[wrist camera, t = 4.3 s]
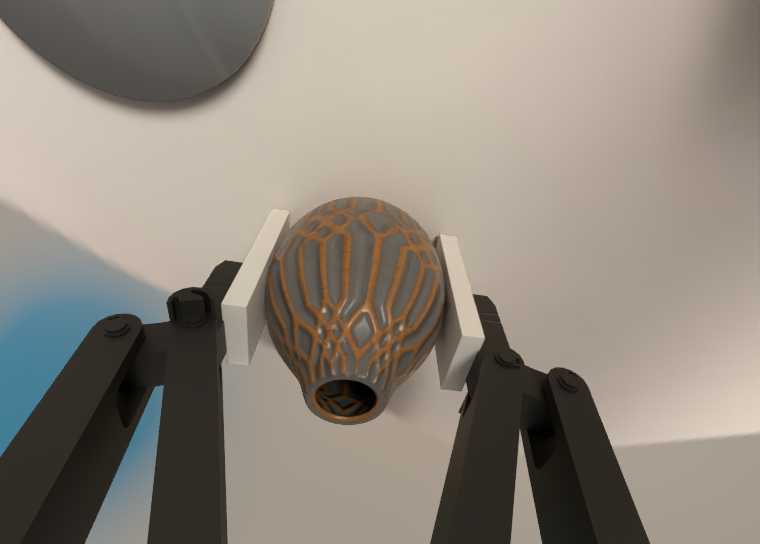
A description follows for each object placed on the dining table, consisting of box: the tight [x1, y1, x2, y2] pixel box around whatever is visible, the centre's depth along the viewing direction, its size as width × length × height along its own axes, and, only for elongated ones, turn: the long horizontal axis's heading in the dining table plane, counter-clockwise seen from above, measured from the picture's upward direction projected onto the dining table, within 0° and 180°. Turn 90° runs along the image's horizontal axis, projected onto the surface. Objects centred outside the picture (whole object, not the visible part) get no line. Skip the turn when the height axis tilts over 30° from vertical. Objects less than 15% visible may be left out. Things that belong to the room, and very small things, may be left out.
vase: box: [265, 197, 446, 425], centre depth 15 cm, size 7×7×9 cm
